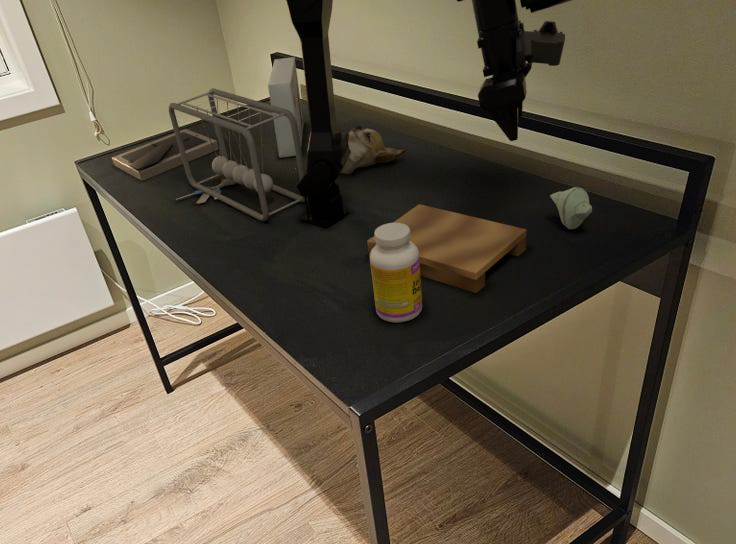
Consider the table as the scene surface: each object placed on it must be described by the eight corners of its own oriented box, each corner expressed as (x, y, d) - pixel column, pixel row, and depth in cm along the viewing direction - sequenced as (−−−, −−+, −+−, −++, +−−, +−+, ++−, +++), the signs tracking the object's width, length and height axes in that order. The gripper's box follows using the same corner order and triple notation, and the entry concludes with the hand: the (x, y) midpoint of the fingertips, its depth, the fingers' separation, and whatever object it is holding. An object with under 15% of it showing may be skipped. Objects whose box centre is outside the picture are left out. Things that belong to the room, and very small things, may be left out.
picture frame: (142, 181, 149) (219, 149, 158) (138, 169, 148) (216, 137, 156) (114, 165, 160) (188, 136, 168) (110, 154, 158) (184, 125, 167)
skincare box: (303, 155, 146) (290, 81, 136) (279, 159, 147) (264, 86, 137) (306, 123, 163) (294, 55, 153) (284, 126, 163) (271, 58, 153)
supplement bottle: (420, 324, 91) (414, 242, 83) (373, 324, 93) (363, 244, 85) (424, 297, 96) (419, 217, 88) (379, 298, 98) (370, 220, 90)
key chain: (232, 177, 142) (231, 173, 142) (252, 187, 137) (251, 183, 136) (175, 201, 137) (174, 197, 137) (193, 212, 131) (192, 208, 131)
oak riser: (369, 259, 107) (366, 240, 105) (420, 222, 114) (419, 203, 112) (476, 293, 95) (476, 272, 93) (525, 249, 102) (526, 229, 100)
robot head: (544, 223, 107) (546, 184, 103) (564, 215, 108) (567, 176, 104) (579, 241, 101) (583, 201, 97) (600, 233, 102) (605, 192, 98)
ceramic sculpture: (315, 128, 133) (377, 110, 138) (319, 170, 138) (379, 151, 143) (342, 141, 125) (407, 122, 130) (346, 185, 130) (408, 164, 135)
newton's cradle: (188, 185, 142) (165, 101, 131) (228, 168, 146) (209, 86, 135) (267, 225, 122) (247, 130, 111) (311, 204, 126) (296, 111, 115)
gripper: (554, 24, 84) (570, 140, 92) (559, -11, 97) (572, 94, 105) (467, 49, 88) (490, 157, 97) (483, 13, 102) (502, 111, 110)
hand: (516, 128), depth 102 cm, fingers open, 9 cm apart
